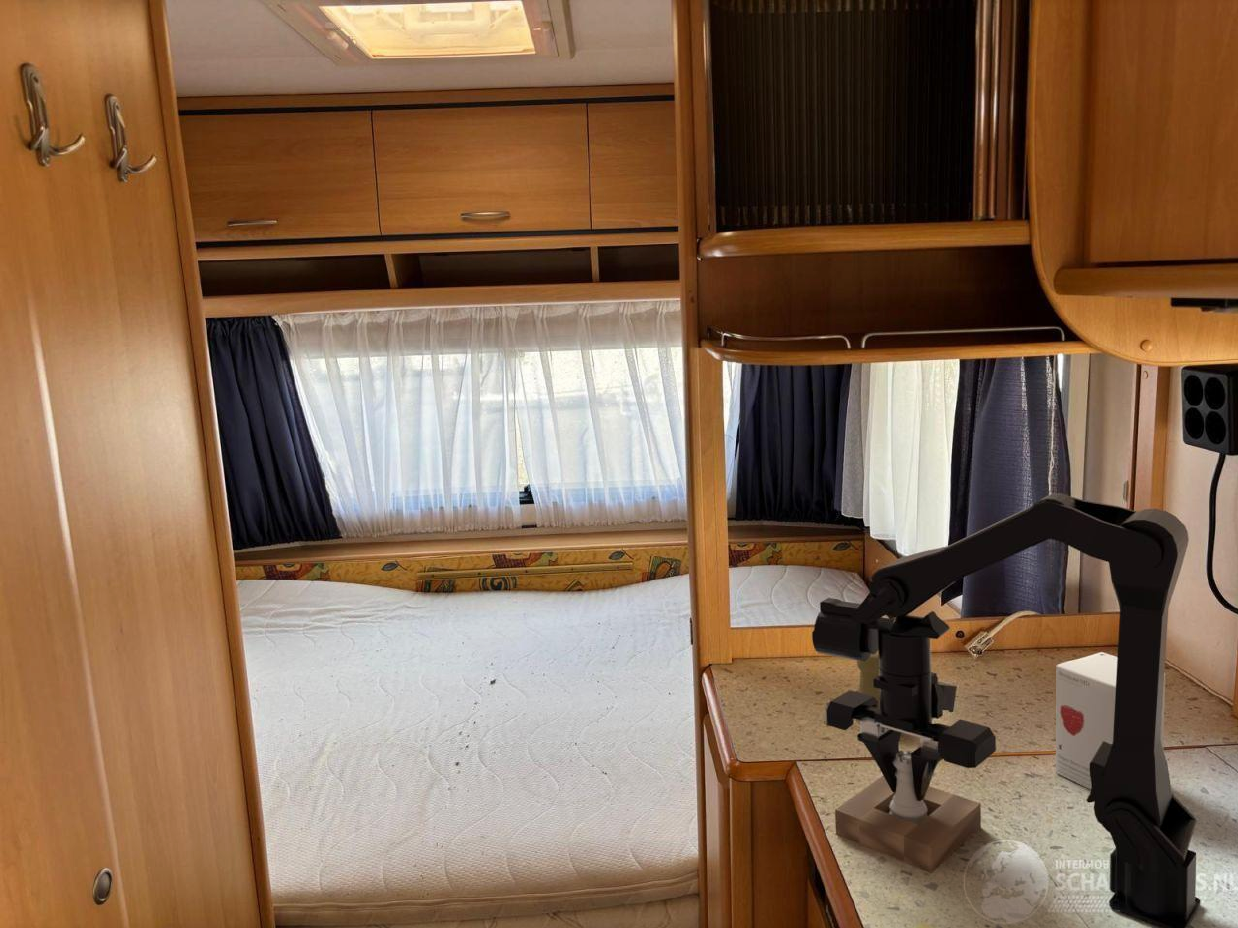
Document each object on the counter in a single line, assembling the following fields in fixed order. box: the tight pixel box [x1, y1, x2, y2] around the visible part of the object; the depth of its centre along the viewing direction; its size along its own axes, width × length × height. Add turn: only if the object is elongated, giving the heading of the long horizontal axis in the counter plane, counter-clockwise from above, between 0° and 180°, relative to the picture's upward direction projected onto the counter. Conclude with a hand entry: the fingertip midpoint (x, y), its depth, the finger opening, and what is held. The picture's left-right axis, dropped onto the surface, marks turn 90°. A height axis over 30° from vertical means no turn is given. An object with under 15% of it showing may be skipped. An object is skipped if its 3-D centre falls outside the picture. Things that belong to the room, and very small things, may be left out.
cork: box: [856, 651, 880, 723], centre depth 134 cm, size 6×6×11 cm
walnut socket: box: [834, 775, 982, 873], centre depth 104 cm, size 12×12×3 cm
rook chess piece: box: [889, 750, 928, 824], centre depth 103 cm, size 4×4×8 cm
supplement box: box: [1055, 651, 1167, 791], centre depth 112 cm, size 9×9×15 cm
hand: (908, 795), depth 103 cm, fingers closed on rook chess piece, 3 cm apart
